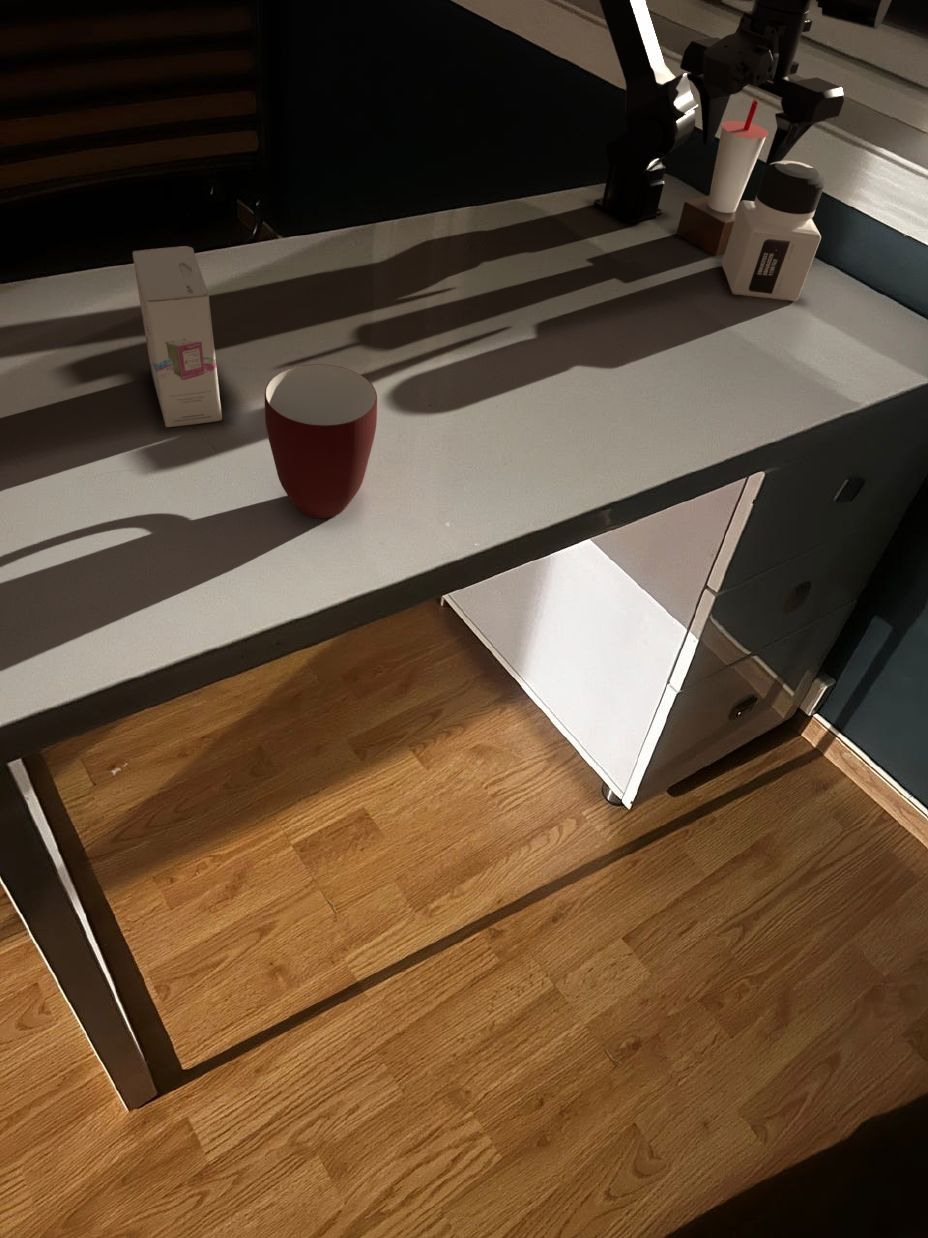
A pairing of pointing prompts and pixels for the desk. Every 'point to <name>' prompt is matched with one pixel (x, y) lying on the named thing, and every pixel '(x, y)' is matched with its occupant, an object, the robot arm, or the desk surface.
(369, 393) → the mug
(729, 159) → the cup
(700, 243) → the walnut block
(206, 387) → the ink box
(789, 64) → the robot arm
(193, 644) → the desk surface
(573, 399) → the desk surface
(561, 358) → the desk surface
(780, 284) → the container
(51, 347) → the desk surface
